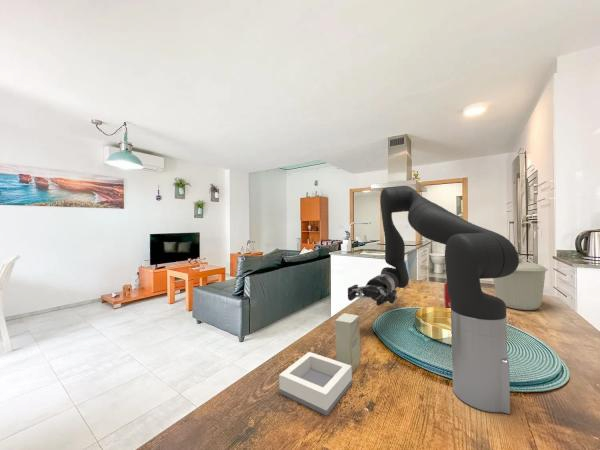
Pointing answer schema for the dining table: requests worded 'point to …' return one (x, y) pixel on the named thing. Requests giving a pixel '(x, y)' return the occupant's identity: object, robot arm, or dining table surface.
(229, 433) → the dining table surface
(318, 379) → the socket block
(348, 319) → the skincare box
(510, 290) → the canister
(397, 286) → the robot arm
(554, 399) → the dining table surface
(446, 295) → the soda can
